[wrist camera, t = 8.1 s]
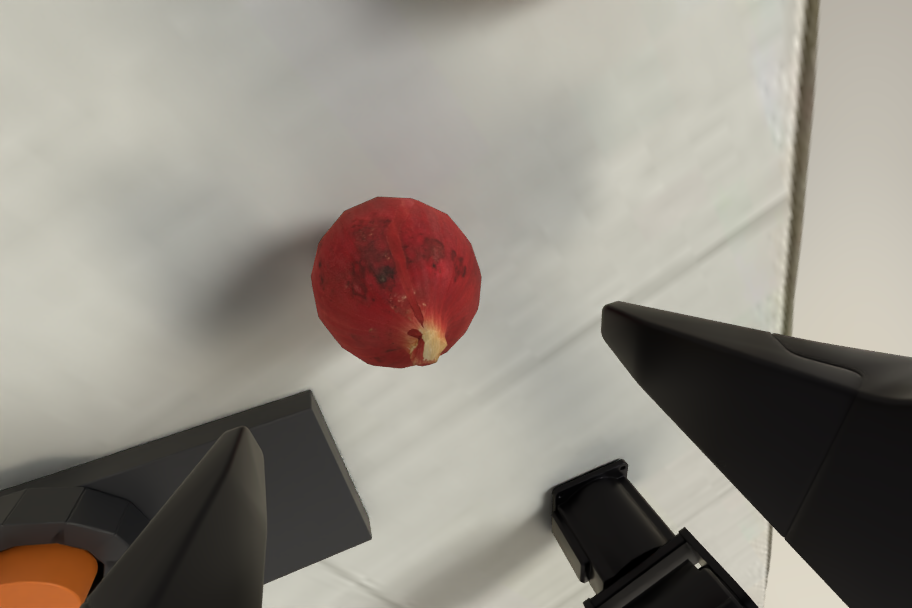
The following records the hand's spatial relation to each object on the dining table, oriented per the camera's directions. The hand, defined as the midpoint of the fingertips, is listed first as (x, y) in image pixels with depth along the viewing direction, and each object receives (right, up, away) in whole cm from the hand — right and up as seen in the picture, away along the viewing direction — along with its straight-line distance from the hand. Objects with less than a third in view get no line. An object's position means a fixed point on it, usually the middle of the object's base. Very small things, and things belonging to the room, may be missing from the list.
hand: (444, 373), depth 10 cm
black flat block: (-13, -9, +11) cm, 19 cm away
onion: (-3, +4, +8) cm, 9 cm away
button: (-16, -9, +6) cm, 20 cm away
